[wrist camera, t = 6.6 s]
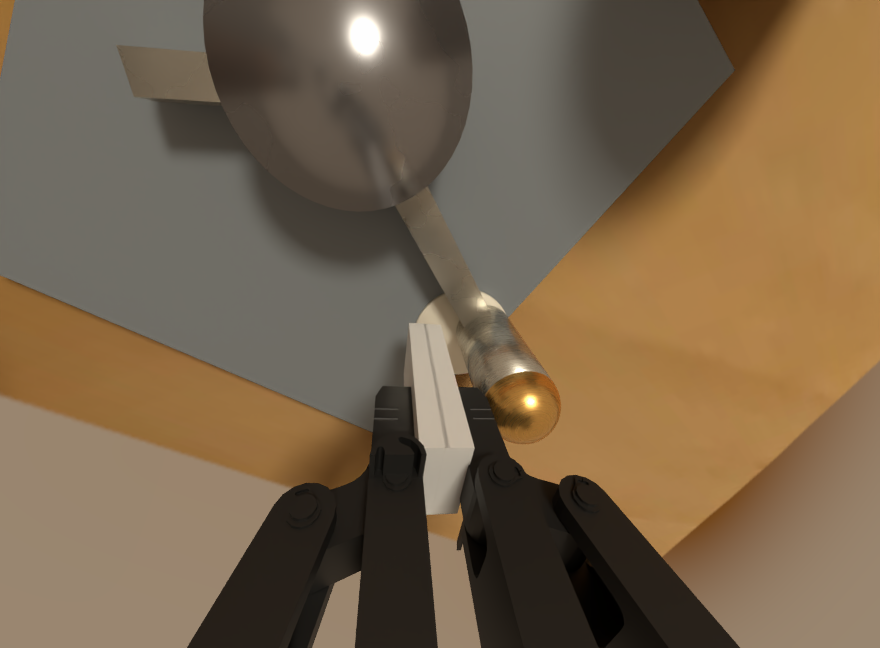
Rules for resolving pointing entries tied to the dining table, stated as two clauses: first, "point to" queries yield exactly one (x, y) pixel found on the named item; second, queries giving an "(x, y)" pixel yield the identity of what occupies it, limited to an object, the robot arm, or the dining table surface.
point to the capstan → (360, 140)
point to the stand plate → (306, 222)
